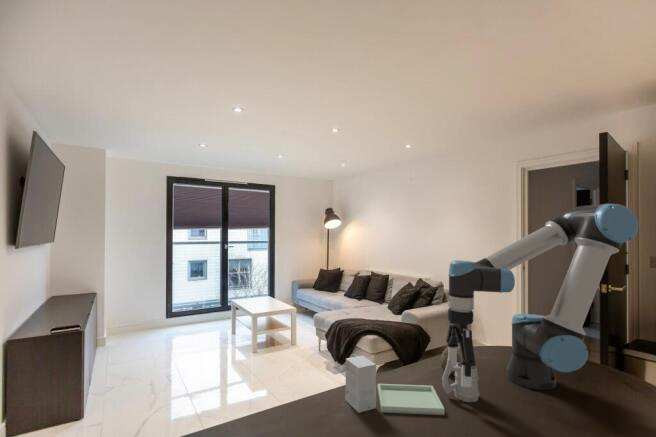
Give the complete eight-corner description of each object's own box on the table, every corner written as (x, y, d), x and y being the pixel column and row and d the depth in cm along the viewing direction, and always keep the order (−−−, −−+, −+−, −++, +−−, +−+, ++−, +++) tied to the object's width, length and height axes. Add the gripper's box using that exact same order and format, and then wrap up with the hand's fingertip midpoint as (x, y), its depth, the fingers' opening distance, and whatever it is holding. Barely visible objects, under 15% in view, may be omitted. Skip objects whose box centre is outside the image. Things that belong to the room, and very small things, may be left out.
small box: (376, 408, 101) (377, 364, 101) (358, 413, 98) (358, 368, 98) (362, 395, 108) (362, 354, 109) (344, 400, 106) (345, 358, 106)
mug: (484, 402, 105) (484, 363, 105) (447, 403, 104) (447, 364, 104) (472, 390, 113) (472, 354, 113) (437, 391, 112) (437, 354, 112)
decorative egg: (439, 375, 123) (439, 348, 123) (441, 368, 130) (441, 342, 130) (460, 379, 121) (460, 351, 121) (461, 371, 127) (461, 344, 127)
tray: (432, 391, 112) (432, 385, 112) (444, 415, 98) (444, 408, 98) (377, 389, 113) (377, 383, 113) (381, 412, 99) (381, 406, 99)
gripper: (438, 300, 121) (436, 359, 121) (461, 319, 97) (459, 394, 96) (459, 301, 121) (458, 360, 121) (488, 320, 96) (486, 396, 96)
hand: (458, 376), depth 108 cm, fingers open, 13 cm apart
